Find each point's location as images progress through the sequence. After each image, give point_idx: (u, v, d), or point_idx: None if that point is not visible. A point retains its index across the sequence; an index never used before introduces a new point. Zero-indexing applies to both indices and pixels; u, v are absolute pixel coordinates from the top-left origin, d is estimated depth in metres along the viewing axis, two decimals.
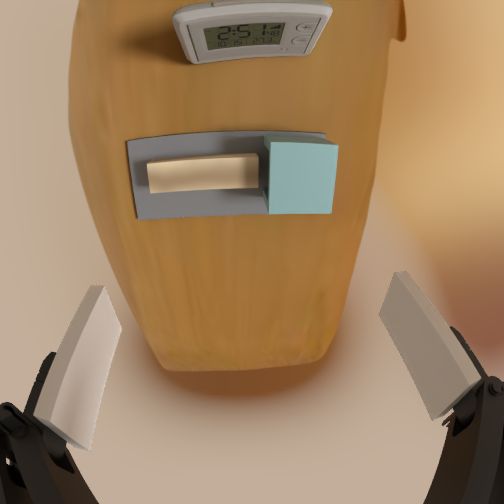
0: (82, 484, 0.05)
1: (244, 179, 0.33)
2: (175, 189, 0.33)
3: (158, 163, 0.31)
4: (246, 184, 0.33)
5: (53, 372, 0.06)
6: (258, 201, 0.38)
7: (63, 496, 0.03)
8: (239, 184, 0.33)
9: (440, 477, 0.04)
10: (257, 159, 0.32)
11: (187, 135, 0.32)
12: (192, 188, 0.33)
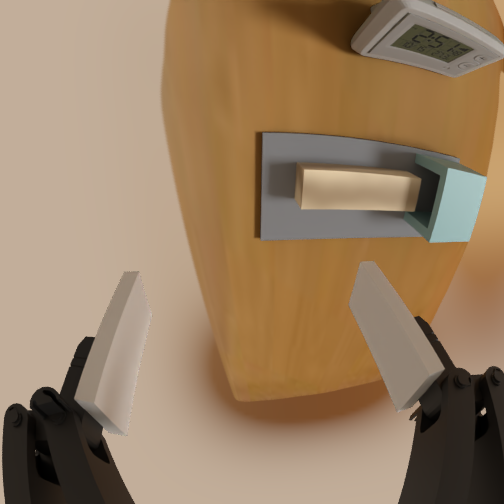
0: (116, 475, 0.05)
1: (405, 201, 0.26)
2: (334, 206, 0.26)
3: (319, 171, 0.24)
4: (405, 207, 0.26)
5: (94, 354, 0.07)
6: (398, 223, 0.31)
7: (100, 488, 0.04)
8: (400, 206, 0.26)
9: (412, 476, 0.05)
10: (419, 181, 0.25)
11: (344, 139, 0.25)
12: (353, 207, 0.26)
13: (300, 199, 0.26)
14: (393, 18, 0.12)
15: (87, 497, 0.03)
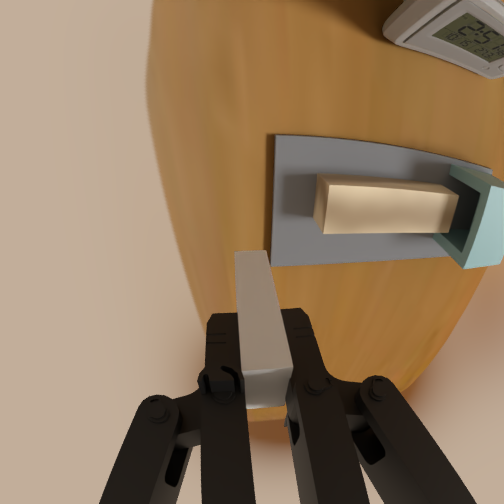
0: None
1: (440, 222, 0.21)
2: (362, 230, 0.21)
3: (348, 186, 0.19)
4: (440, 228, 0.21)
5: (245, 325, 0.09)
6: (426, 243, 0.26)
7: (252, 479, 0.05)
8: (434, 228, 0.21)
9: (302, 492, 0.05)
10: (457, 198, 0.19)
11: (374, 145, 0.20)
12: (384, 230, 0.21)
13: (322, 221, 0.21)
14: (443, 1, 0.07)
15: (233, 486, 0.04)
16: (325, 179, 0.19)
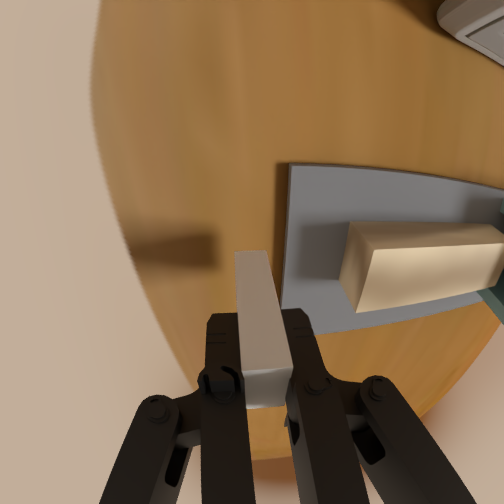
0: None
1: (490, 276, 0.14)
2: (406, 302, 0.14)
3: (399, 249, 0.12)
4: (488, 283, 0.14)
5: (245, 325, 0.09)
6: None
7: (252, 479, 0.05)
8: (483, 284, 0.14)
9: (302, 492, 0.05)
10: None
11: (427, 179, 0.13)
12: (432, 297, 0.14)
13: (355, 295, 0.14)
14: None
15: (233, 487, 0.04)
16: (364, 236, 0.13)
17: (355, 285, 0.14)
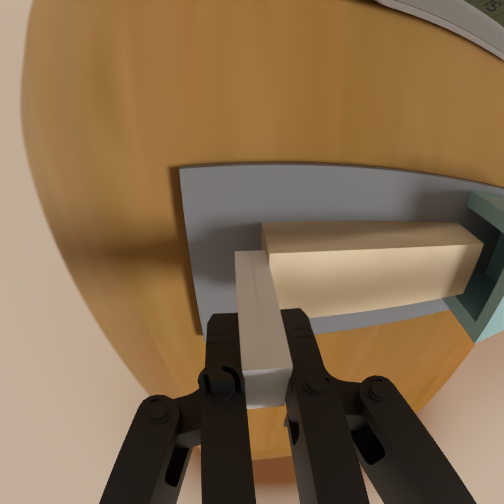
0: None
1: (454, 283, 0.14)
2: (332, 311, 0.13)
3: (305, 253, 0.11)
4: (452, 290, 0.14)
5: (245, 325, 0.09)
6: None
7: (252, 479, 0.05)
8: (444, 292, 0.14)
9: (301, 492, 0.05)
10: (481, 248, 0.12)
11: (352, 171, 0.13)
12: (368, 307, 0.14)
13: None
14: None
15: (234, 487, 0.04)
16: (268, 238, 0.12)
17: None
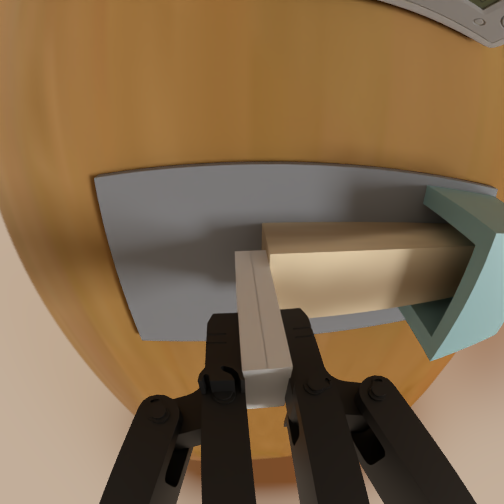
0: None
1: (453, 284, 0.14)
2: (331, 312, 0.13)
3: (305, 254, 0.11)
4: (451, 292, 0.14)
5: (245, 325, 0.09)
6: None
7: (253, 479, 0.05)
8: (443, 293, 0.14)
9: (301, 492, 0.05)
10: None
11: (261, 168, 0.12)
12: (368, 308, 0.14)
13: None
14: None
15: (234, 487, 0.04)
16: (269, 238, 0.12)
17: None
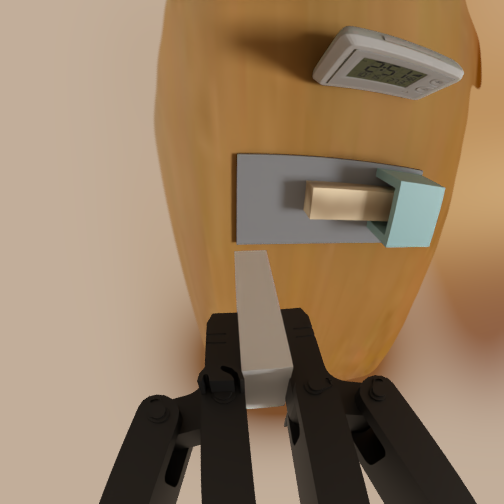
0: None
1: None
2: (336, 217, 0.32)
3: (325, 188, 0.30)
4: None
5: (245, 325, 0.09)
6: (361, 230, 0.37)
7: (252, 479, 0.05)
8: None
9: (302, 492, 0.05)
10: None
11: (307, 158, 0.31)
12: (351, 218, 0.32)
13: (309, 211, 0.32)
14: (342, 54, 0.18)
15: (233, 486, 0.04)
16: (311, 184, 0.31)
17: (309, 206, 0.32)
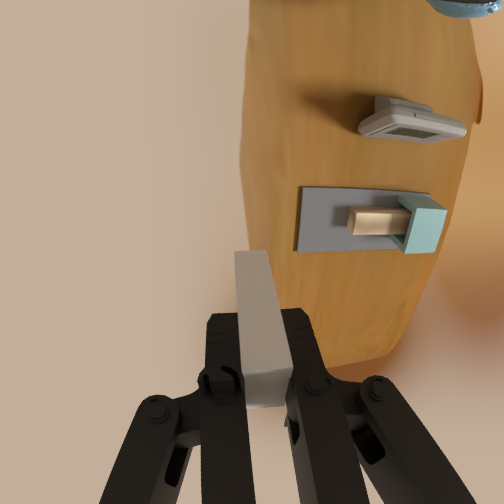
0: None
1: None
2: (370, 233, 0.43)
3: (364, 213, 0.41)
4: None
5: (245, 325, 0.09)
6: (385, 240, 0.48)
7: (252, 479, 0.05)
8: None
9: (302, 492, 0.05)
10: None
11: (351, 190, 0.42)
12: (381, 233, 0.43)
13: (352, 229, 0.43)
14: (386, 125, 0.29)
15: (233, 487, 0.04)
16: (354, 209, 0.42)
17: (352, 225, 0.43)
